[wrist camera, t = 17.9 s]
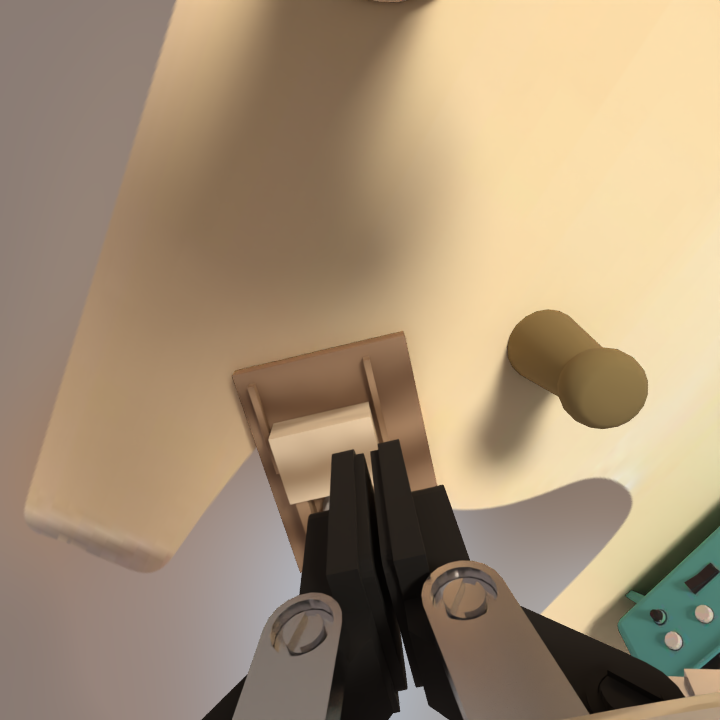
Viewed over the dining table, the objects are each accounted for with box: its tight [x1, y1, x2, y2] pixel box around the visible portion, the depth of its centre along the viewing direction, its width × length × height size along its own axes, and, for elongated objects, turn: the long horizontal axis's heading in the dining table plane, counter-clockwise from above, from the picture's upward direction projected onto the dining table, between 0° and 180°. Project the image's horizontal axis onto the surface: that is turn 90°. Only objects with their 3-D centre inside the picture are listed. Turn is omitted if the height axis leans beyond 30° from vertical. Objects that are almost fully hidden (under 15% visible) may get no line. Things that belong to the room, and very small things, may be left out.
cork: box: [507, 310, 648, 429], centre depth 34 cm, size 6×6×11 cm
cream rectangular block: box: [268, 402, 379, 505], centre depth 39 cm, size 6×8×3 cm
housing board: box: [232, 331, 437, 573], centre depth 40 cm, size 20×14×3 cm
